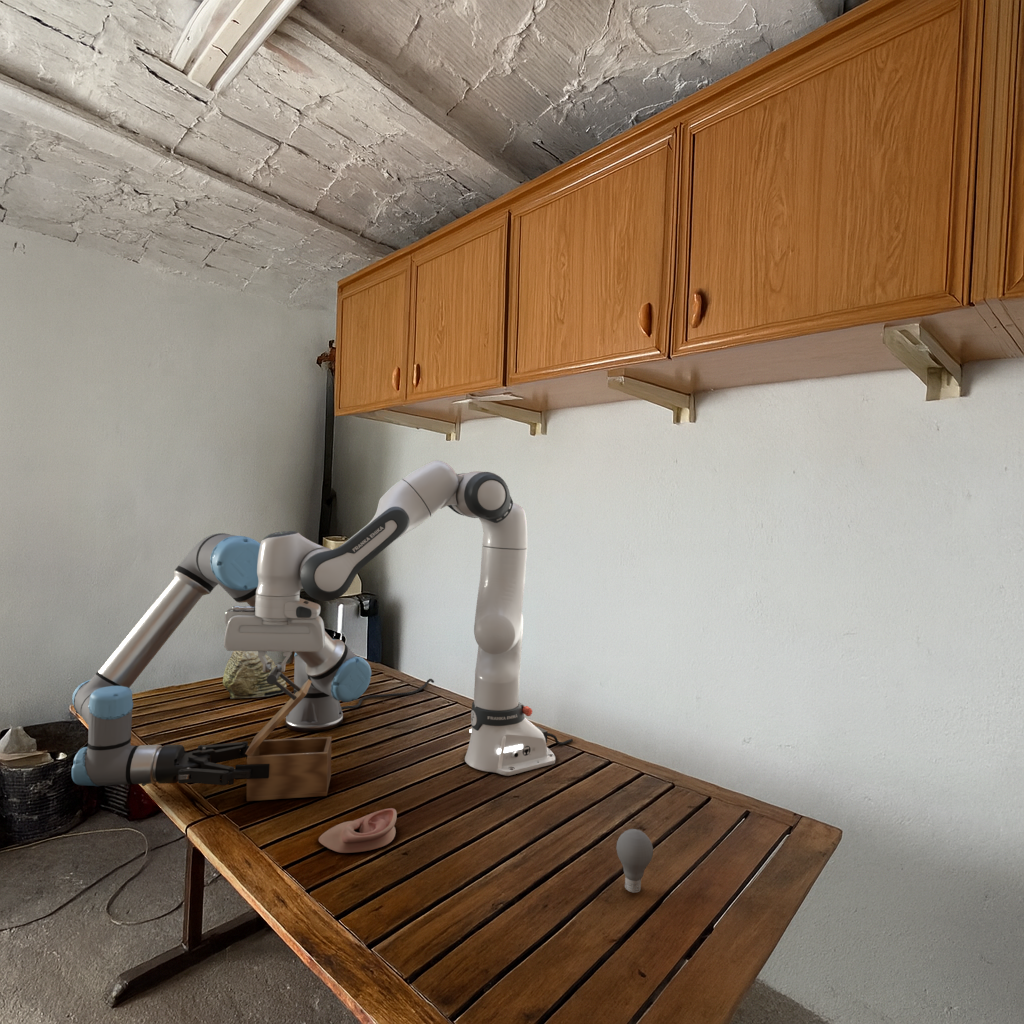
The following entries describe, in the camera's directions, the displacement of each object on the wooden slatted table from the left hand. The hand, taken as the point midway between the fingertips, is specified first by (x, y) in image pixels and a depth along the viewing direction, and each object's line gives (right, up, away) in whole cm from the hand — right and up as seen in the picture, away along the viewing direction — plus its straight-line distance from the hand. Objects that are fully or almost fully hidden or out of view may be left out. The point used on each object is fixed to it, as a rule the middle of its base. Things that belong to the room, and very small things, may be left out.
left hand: (273, 761), depth 136 cm
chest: (+3, -6, +1) cm, 7 cm away
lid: (+2, +9, 0) cm, 9 cm away
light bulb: (+71, -10, -30) cm, 78 cm away
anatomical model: (+22, -8, -18) cm, 29 cm away
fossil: (-29, -4, +62) cm, 69 cm away
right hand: (0, +19, 0) cm, 19 cm away
